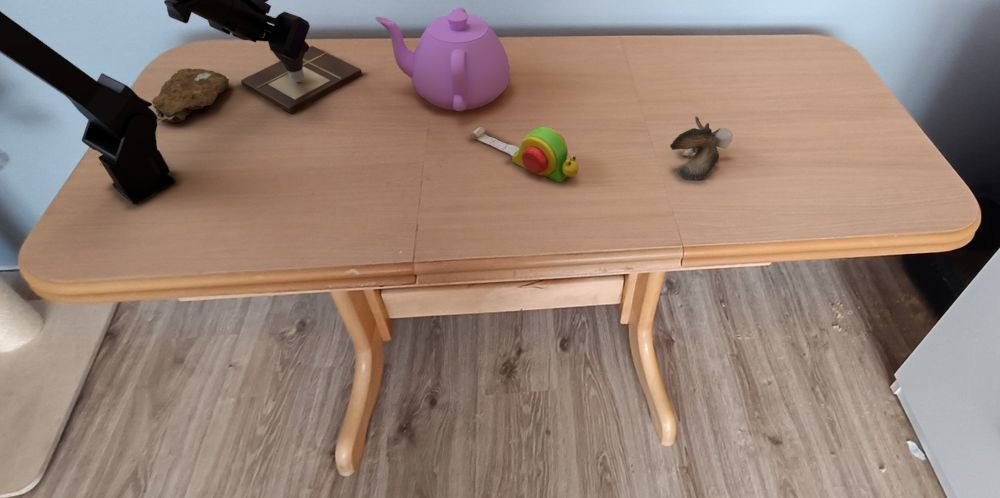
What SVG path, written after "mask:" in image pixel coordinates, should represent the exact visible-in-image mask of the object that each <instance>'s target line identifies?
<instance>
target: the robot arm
mask: <svg viewBox="0 0 1000 498" xmlns="http://www.w3.org/2000/svg"><path fill="white" fill-rule="evenodd" d="M268 1H269V0H164V1H163V2H164V5H165V6H166V11H167V15H168V17H169V18H171V19H173V20H176V21H178V22H181V23H183V24H188V23H189V20H190V18H191V15H192V14H194V15H196V16H199V18H202V19H204V20H206V21H207V22H208V25H209V27H210V28H212V29H214V30H217V31H219V32H222V33H224V34H226V35H232V36H233V37H235V38H237V39H240V40H243V41H251V42H253V43H257V42H265V43H266V42H267V43H268V47H269V50H270V52H272V53H273V52H275V53H277V54H280V55H282V56H284V57H287V58H289V59H292V60H294V61H295V60H296V59H298V58H299V55H300V53H302V52H307V51H308V49H309V47H310V45H309V44H308V42H306V38H307V35H308V33H309V30H310V28H311V26H310V22H309V21H308V20H306V19H304V18H302V17H301V16H298V15H297V14H293V13H290V12H287V11H282V12H281V13H279V14H278V15H277V16H275V17H274V16H271V15H268V14H269V13H270V11H271V8H272V5H271V4H269V3H268ZM0 54H1V55H3V56H4V57H5V58H7V59H9V60H10V61H11V62H13V63H15V64H16V65H18V67H21V68H22V69H24V70H25V71H27V72H28V73H30V74H31V75H33V76H34V77H36V78H38V79H39V80H40V81H42V83H43V82H44V83H45V84H46V85H48V86H50V87H51V88H53V89H54V90H56V91H57V92H58V93H60V94H62V95H63V96H64V97H66V98H67V99H68V100H69V101H70V103H72V105H73V106H74V108H75V109H76V110H77V111H78V112H79V113H80V114H81V115H82V116H83V117H85V118H86V119H87V123H86V127H85V129H84V132H83V135H82V138H81V142H82V143H83V144H85V145H86V146H87V147H89V148H90V149H92V150H93V151H96V152H98V153H100V154H101V155H99V156H98V157H97V158H98V160H99V161H100V163H101V164H102V166H103V168H104V169H105V171H106V172H107V174H108V176H109V177H110V179H111V180H112V182H113V183H112V184H111V185H112V187H113V188H114V189H115V190H116V191H117V192H119V194H121V195H122V196H123V197H124V198H126V200H128V201H129V202H130V203H132V204H133V205H137V204H139V203H141V202H143V201H145V200H146V199H149V198H150V197H152V196H154V195H155V194H157V193H159V192H161V191H163V190H165V189H167V188H168V187H170V186H172V185H174V184H175V183H176V179H175V177H173V176H171V175H170V174H171V169H170V168H169V166H168V164H167V163H166V160H165V158H164V156H163V154H162V153H161V151H160V150H159V149H158V144H157V143H158V142H157V133H156V132H157V129H158V121H157V119H158V118H157V113H155V111H153V109H151V107H152V106H153V103H152V102H150V101H148V100H146V99H144V98H143V97H140V96H139V95H138V94H137V93H136V92H135V91H134V90H133V89H132V87H130V86H128V84H125V83H124V82H122V81H118V80H117V79H115V78H113V77H111V76H109V75H107V74H105V73H103V72H101V73H100V75H99V77H98V78H97V80H96V79H95V78H93V77H92V76H90V75H89V74H88V73H86V72H85V71H83V70H82V69H81V68H79V67H78V66H77V65H75V64H74V63H73V62H71V61H70V60H68V59H67V58H66V57H64V56H63V55H61V53H59V52H57V51H56V50H54V49H53V48H52V47H51V46H49V45H47V43H45V42H43V40H41V39H39V38H38V37H36V36H35V35H34V34H33V33H31V32H30V31H28V30H27V29H25V28H24V27H23V26H22V25H20V24H18V23H17V22H16V21H14V20H13V19H12V18H11V17H9V16H7V15H6V14H5V13H4V12H2V11H1V10H0Z"/></svg>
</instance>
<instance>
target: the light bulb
mask: <svg viewBox="0 0 1000 498" xmlns="http://www.w3.org/2000/svg"><path fill="white" fill-rule="evenodd" d="M272 53H273V55H275V57H276V58H277V59H278V60H279V61H281V62H282V63H283V64H284V66H285V68H286V69H287V71H288V74H289V77H290V79H291V81H293V82H296V83H297V84H299V83H301V81H302V80H304V73H303V57H304V54H305V52H302V53H300V55H299V58H298V59H296V60H295V61H294V60H292V59H289V58H287V57H284V56H282V55H280V54H277V53H275V52H273V51H272Z"/></svg>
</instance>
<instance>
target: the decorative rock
mask: <svg viewBox="0 0 1000 498" xmlns="http://www.w3.org/2000/svg"><path fill="white" fill-rule="evenodd" d="M229 86H230V79H229V78H227V77H226V75H225V74H222V73H220V72H216V71H214V70H208V69H204V68H199V69H198V68H194V69H193V68H181V69H178V70H176V72H175V73H173V74H172V75H171V76H170V79H168V80H167V81H165V82H164V83H163V85H162V86H161V89H160V92H159V93H158V95H157V96H154V98H153V99H152V100H151V103H152V106H153V109H154V110H155V112H156V116H157V118H158V119H157V122H159V121H161V122H163V123H166V124H169V123H170V124H173V123H181V122H182V121H184V120H185V118H186V116H188V115H190V114H191V112H192V111H193V110H198V109H199V110H202V109H203V107H206V106H212V105H213V103H214V102H215V101H216V99H217V98H218V96H219V94H222V93H223V92H225V90H227V89H228V88H229Z"/></svg>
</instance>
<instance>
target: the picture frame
mask: <svg viewBox="0 0 1000 498" xmlns="http://www.w3.org/2000/svg"><path fill="white" fill-rule="evenodd" d="M303 73H304V80H302V81H301V83H299V84H297V83H296V82H293V81H291V79H290V77H289V74H288V71H287V69H286V68H285V66H284V64H283V63H282V62H281V61H280V60H279V61H277V62H275V63H273V64H271V65H269V66H267V67H265V68H263V69H261V70H259V71H257V72H255V73H252V74H251V75H248V76H246V77H244V78H242V79H241V80H240V82H241V85H242V87H243V88H245V89H247V90H249V91H251V92H252V93H254V94H256V95H258V96H259V97H261V98H263V99H264V100H266V101H268V102H269V103H272V104H273V105H275V106H277V107H278V108H280V109H282V110H284V111H285V112H287V113H288V114H290V115H293V114H294V113H296V112H297V111H299V110H301V109H303V108H305V107H307V106H308V105H311V104H312V103H314V102H316V101H317V100H319V99H322V98H323V97H325V96H327V95H329V94H330V93H332V92H334V91H336V90H338V89H339V88H342V87H343V86H345V85H347V84H348V83H350V82H353V81H354V80H356V79H358V78H360V77H361V76H363V71H362V69H361V68H359V67H358V66H355V65H353V64H351V63H349V62H347V61H345V60H343V59H340V58H338V57H336V56H335V55H332V54H331V53H328V52H326V51H324V50H323V49H320V48H318V47H316V46H314V45H311V46H310V45H309V49H308V51H307V52H305V54H304V57H303Z"/></svg>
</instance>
